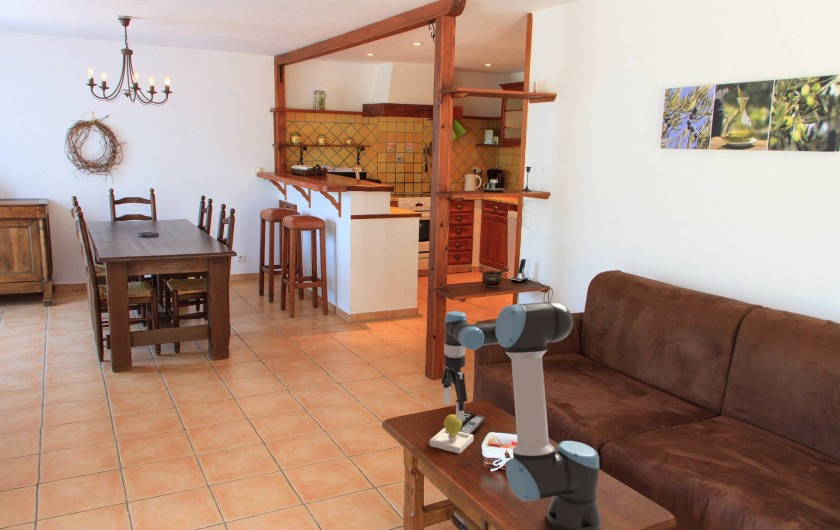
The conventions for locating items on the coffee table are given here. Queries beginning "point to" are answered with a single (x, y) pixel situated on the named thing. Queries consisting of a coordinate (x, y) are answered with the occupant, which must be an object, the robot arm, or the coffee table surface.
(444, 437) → the tray
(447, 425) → the light bulb
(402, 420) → the coffee table surface
